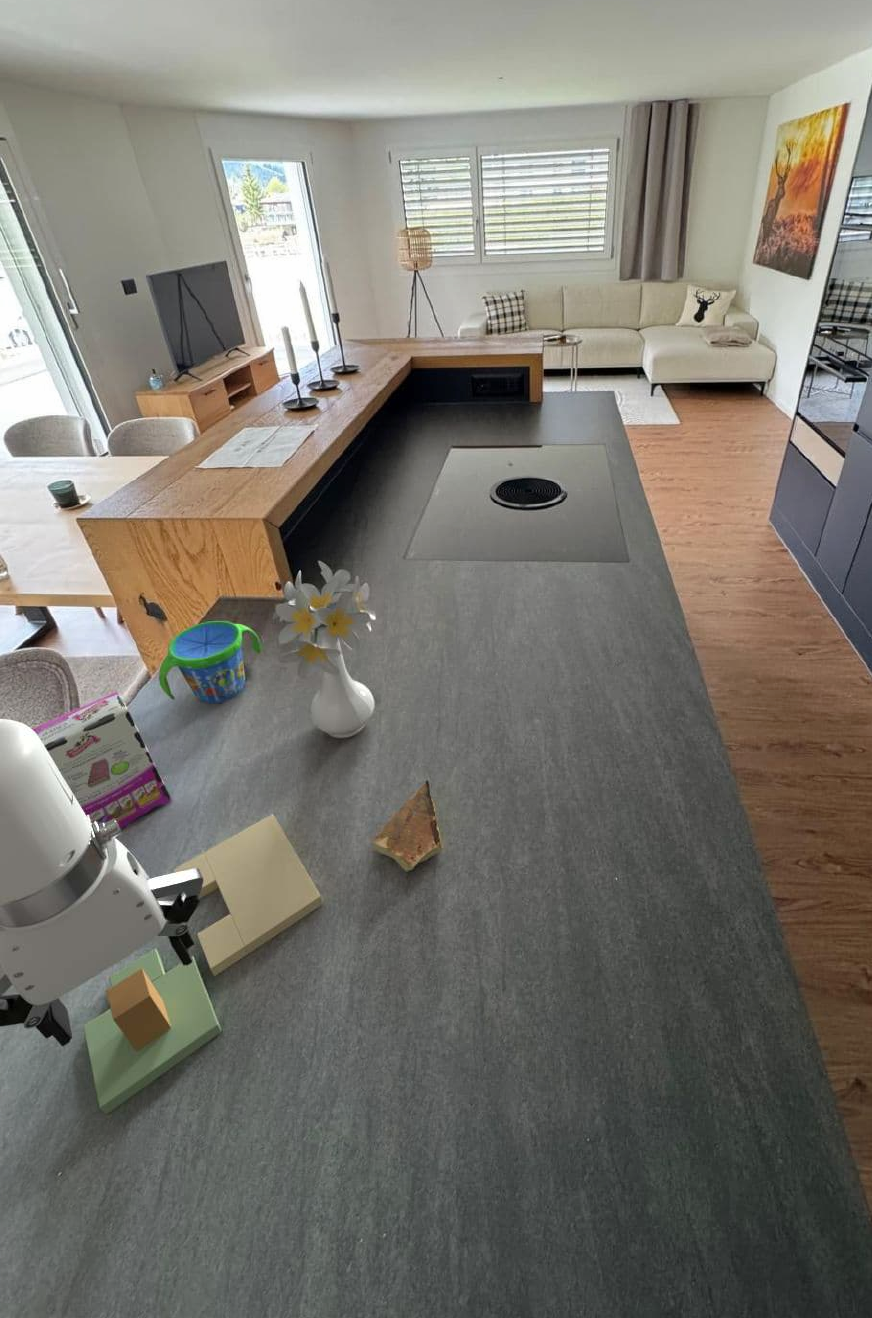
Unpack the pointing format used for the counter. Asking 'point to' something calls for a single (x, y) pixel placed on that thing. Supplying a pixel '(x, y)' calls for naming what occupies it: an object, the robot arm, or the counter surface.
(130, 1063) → the green pad
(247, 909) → the cream pad
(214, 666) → the snack cup
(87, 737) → the candy bar box
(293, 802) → the counter surface
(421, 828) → the shard
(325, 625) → the flower vase
